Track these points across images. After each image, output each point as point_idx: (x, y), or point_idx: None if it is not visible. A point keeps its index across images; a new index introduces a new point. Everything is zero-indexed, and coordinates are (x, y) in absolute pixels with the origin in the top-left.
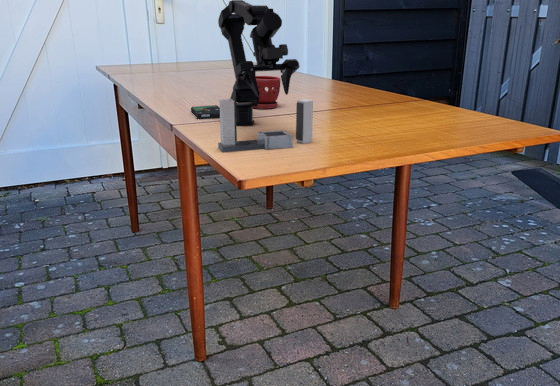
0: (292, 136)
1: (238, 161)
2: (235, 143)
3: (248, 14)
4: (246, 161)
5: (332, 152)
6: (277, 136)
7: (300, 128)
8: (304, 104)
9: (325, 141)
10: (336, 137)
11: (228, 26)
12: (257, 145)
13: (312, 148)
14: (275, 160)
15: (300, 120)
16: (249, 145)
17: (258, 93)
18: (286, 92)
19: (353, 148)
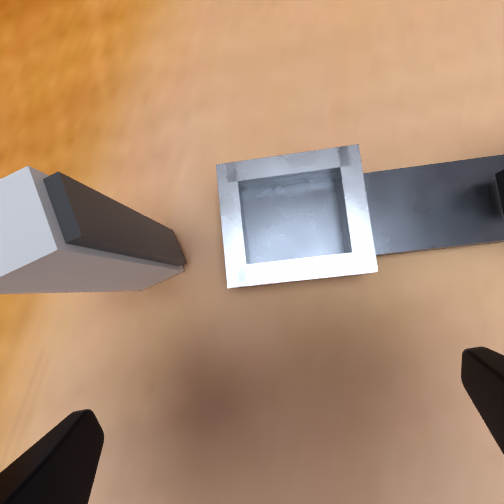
0: (218, 166)
1: (479, 22)
2: (488, 202)
3: None
4: (447, 19)
5: (105, 92)
6: (292, 159)
7: (153, 224)
8: (42, 176)
9: None
10: (2, 312)
11: None
12: (383, 172)
13: (155, 157)
14: (335, 19)
15: (133, 216)
16: (422, 166)
17: (493, 358)
18: (83, 426)
19: (14, 132)
